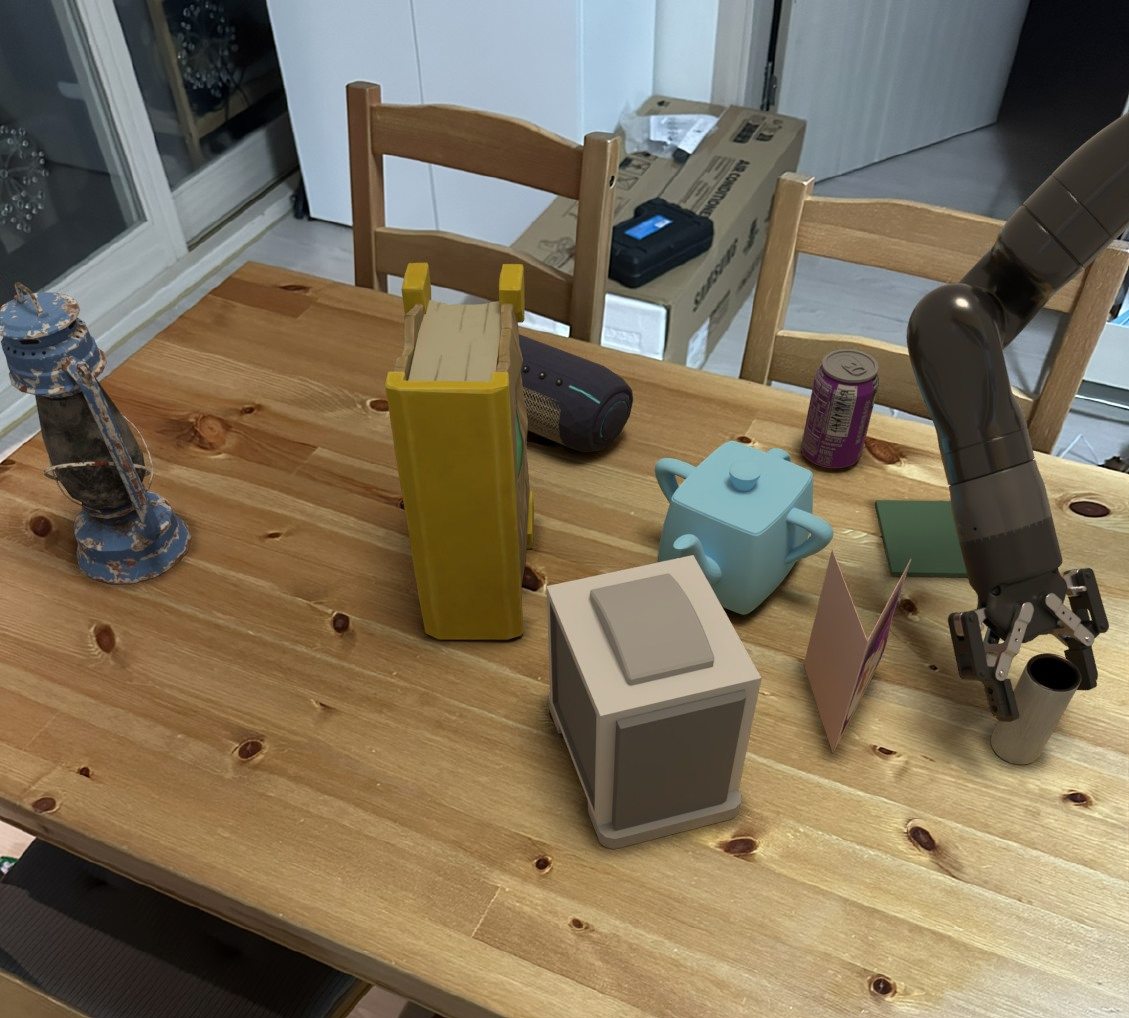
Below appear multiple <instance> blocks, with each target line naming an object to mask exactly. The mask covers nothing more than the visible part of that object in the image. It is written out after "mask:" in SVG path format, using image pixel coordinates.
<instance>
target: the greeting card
mask: <svg viewBox="0 0 1129 1018" xmlns="http://www.w3.org/2000/svg"><path fill="white" fill-rule="evenodd" d="M910 562H911V560H910V561H909V563H908V565H907V567H906V569H905V571H904V573H903V575H902V576H900V578H899V581H898V583H897V584H896V586H895V588H894V589H893V591H892V593H891V596H890V598H889V599H888V601H887V603H886V604H885V607H884V609H883V610H882V613H881V614H880V617H879V618H878V620H877V622H876V624H875V626H874V627H873V629H872V631H871V633H870V635H869V637H868V638H867V636H866V633H865V630H864V627H863V626H862V623H861V620H860V618H859V615H858V612H857V609H856V607H855V603H854V602H853V599H852V596H851V594H850V591H849V589H848V588H849V587H848V586H847V582H846V581H845V579H844V576H843V573H842V570H841V567H840V565H839V562H838V560H837V557H836V555H835V551H834V549H833V548H831V551H830V555H829V559H828V563H827V567H826V572H825V576H824V580H823V583H822V588H821V591H820V595H819V600H818V604H817V607H816V608H817V609H816V612H815V616H814V620H813V624H812V628H811V632H810V637H809V641H808V644H807V648H806V653H805V657H804V661H803V667H804V670H805V673H806V676H807V679H808V682H809V685H810V688H811V692H812V694H813V697H814V701H815V704H816V707H817V710H818V713H819V716H820V718H821V719H820V720H821V722H822V726H823V728H824V731H825V735H826V737H827V741H828V744H829V747H830V750H831V753H832V754H834V753H835V751H836V749H837V747H838V745H839V743H840V742H841V740H842V738H843V735H844V734H845V732H846V730H847V727H848V726H849V724H850V722H851V719H852V718H853V716H854V714H855V712H856V710H857V708H858V706H859V705H860V703H861V701H862V698H863V697H864V694H865V692H866V690H867V688H868V687H869V684H870V683H871V681H872V679H873V677H874V676H875V672H876V669H877V668H878V666H879V663H880V662H881V660H882V658H883V655H884V652H885V650H886V647H887V644H888V639H889V634H890V630H891V625H892V621H893V617H894V613H895V611H896V607H897V604H898V603H899V600H900V597H901V595H902V592H903V590H904V587H905V586H906V582H907V580H906V577H907V576H906V574H907V571H908V568H909V565H910Z"/></svg>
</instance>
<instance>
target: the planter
mask: <svg viewBox="0 0 1129 1018" xmlns="http://www.w3.org/2000/svg"><path fill="white" fill-rule="evenodd" d="M1080 682H1081V674H1080V671H1079V669H1078V668H1077V666H1076V665H1075V664H1074V663H1073V662H1071V661H1070V660H1068V659H1067V658H1065V656H1063V655H1060V654H1056V653H1052V652H1051V653H1050V652H1049V653H1048V652H1044V653H1039V654H1036V655H1034V656H1032V657H1030V658H1029V660H1028V661H1027V663H1026V665H1025V667H1024V669H1023V671H1022V673H1021V675H1020V677H1019V679H1018V681H1017V683H1016V685H1015V686H1014V688H1013V691H1014V696H1015V700H1016V704H1017V708H1018V712H1019V718H1018V719H1017V720H1014V721H1012V722H1003V721H998V722H997V724H996V725H995V728H994V730H993V732H992V735H991V737H990V745H991V748H992V750H993V751H994V752H995V754H996V755H997V756H998V757H999V758H1001V759H1002V760H1004V761H1006V762H1008V763H1010V764H1015V765H1029V764H1031V763H1034V762H1036V761H1037V760H1038V758H1039V757H1040V756H1041V754H1042V752H1043V751H1044V749H1045V747H1046V745H1047V744H1048V742H1049V741H1050V738H1051V737H1052V735H1053V733H1054V731H1055V729H1056V727H1057V726H1058V724H1059V722H1060V720H1061V718H1062V717H1063V715H1064V713H1065V711H1066V710H1067V708H1068V706H1069V705H1070V703H1071V701H1072V699H1073V697H1074V695H1075V693H1076V692H1077V691H1078V690H1077V688H1078V686H1079V684H1080Z"/></svg>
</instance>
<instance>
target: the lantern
mask: <svg viewBox="0 0 1129 1018" xmlns="http://www.w3.org/2000/svg"><path fill="white" fill-rule="evenodd" d="M14 288H15V291H16V294H14V297H13V299H11V300H9V301H7V302H6V303H4V304H2V306H0V337H2V338H1V340H0V344H1V345H0V346H1V349H2V352H3V354H4V356H5V361H6V365H7V368H8V370H9V372H8V377H9V381H10V384H11V386H12V387H14V388H15V389H16V390H18V391H19V392H21V393H24V394H29V395H33V396H34V397H35V398H34V399H35V403H36V410H37V414H38V415H37V416H38V420H39V426H40V432H41V438H42V441H43V444H44V447H45V450H46V452H47V455H48V461H49V467H47V468H45V469H44V470H43V475H44V477H45V478H48V479H49V480H53V481H55V483H56V486H57V487H58V488H59V490H60V492H61V494H63V496H64V497H66V498H67V499H68V500H69V501H70V502H72V503H74V504H76V505H77V506H80V507H81V509H82V510H80V512H79V513H78V514H77V516H76V518H75V521H74V523H73V526H72V530H73V532H74V536H75V539H76V542H77V549H76V554H75V555H76V559H77V563H78V566H79V570H80V571H82V572H83V573H84V574H85V575H86V576H88V577H89V578H90V579H91V580H94V581H97V582H101V583H104V584H105V583H106V584H108V585H125V584H127V585H128V584H129V585H130V584H137V583H140V582H143V581H146V580H150V579H154V578H157V577H159V576H160V575H162V574H163V573H165V572H167V571H168V570H170V569H172V568H174V567H175V566H176V565H177V564H178V563H179V562H180V561H181V560H182V558H183V557H185V555H186V554H187V553H188V552H189V548H190V544H191V540H192V538H193V537H192V534H191V531H190V528H189V525H188V523H187V522H185V521H184V520H183V519H182V518H180V517H179V516H178V515H176V514H175V513H174V510H173V507H172V505H171V503H170V501H169V500H168V499H167V498H165V496H162V494H160V493H159V492H156V491H151V490H150V489H151V486H152V482H153V479H154V465H153V459H152V457H151V453H150V450H149V447H148V445H147V443H146V441H145V439H144V437H143V435H142V433H141V432H140V431H139V430H138V428H137V427H136V426H135V424H134V423H133V421H131V420H130V419H129V418H127V417H126V416H125V415H124V414H123V413H122V412H121V411H120V409H119V408H118V407H117V406H116V404H115V403H114V401H113V400H112V399H111V397H110V395H109V394H108V393H107V391H106V390H105V388H104V387H103V386H102V385H101V383H100V382H99V380H98V379H97V378H98V377H99V376H100V375H101V374H102V373H103V372H104V370H105V368H106V365H107V363H108V362H107V361H108V360H107V358H106V355H105V353H104V351H103V350H102V349H101V348H99V347H98V345H97V342H96V340H95V338H94V336H92V335H91V333H90V331H89V328H88V326H87V323H86V322H85V321H84V320H82V319H81V318H79V317H78V316H79V315H80V312H81V308H80V305H79V302H78V301H77V300H76V299H74V298H73V297H71V296H70V295H68V294H64V293H59V292H55V291H53V292H52V291H51V292H49V291H48V292H33V291H32V290H31V289H30V288H28V287H27V286H25V285H24V284H22V283H21V282H15V283H14ZM23 292H24V293H26V294H24V293H23ZM129 424H131V426H132V427H133V428H134V430H135V431H136V433H138V436H140V438H141V440H142V443H143V445H144V447H145V448H146V452H147V455H148V459H149V462H150V468H149V467H147V466H146V464H145V458H144V453H143V451H142V449H141V446H140V445H139V443H138V441H137V439H136V437H135V435H134V434H133V432H132V430H131V427H130V426H129ZM50 472H51V473H52V474H49V473H50ZM150 474H151V475H150ZM147 476H150V479H149V482H148V485H147V487H146V485H145V483H144V480H145V477H147ZM60 484H61V485H60ZM62 487H63V488H64V489H65V491H66V492H67V493H65V491H64V490H63V488H62ZM67 494H68V495H67ZM73 499H74V500H73ZM75 500H76V501H75Z"/></svg>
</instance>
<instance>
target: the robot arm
mask: <svg viewBox="0 0 1129 1018" xmlns="http://www.w3.org/2000/svg"><path fill="white" fill-rule="evenodd" d="M1128 228H1129V111H1127V112H1126V113H1124V114H1122V115H1121V116H1120V117H1118V118H1116V119H1115V120H1114V121H1111V123H1109V124H1108V125H1106V126H1105V127H1104V128H1102V129H1101V130H1099V131H1098V132H1097V133H1096V134H1095V135H1093V136H1091V138H1089V139H1088V140H1086V141H1085V143H1083V144H1082V145H1081V146H1080V147H1079V148H1077V149H1076V150H1075V151H1074V152H1073V153H1072V154H1070V155H1069V156H1068V157H1067V159H1065V160H1064V161H1063V162H1062V163H1061V164H1060V165H1059V166H1058V167H1057V168H1056V169H1055V170H1054V171H1053V172H1052V173H1051V175H1049V176H1048V177H1047V179H1045V181H1044V182H1042V184H1041V185H1039V187H1038V188H1037V189H1036V190H1034V192H1033V193H1032V194H1031V195H1030V196H1029V197H1028V198H1027V199H1026V200H1025V201H1024V202H1023V203H1022V205H1020V206H1019V207H1018V208H1017V209H1016V210H1015V211H1014V212H1013V213H1012V215H1011V216H1010V217H1008V219H1007V220H1006V221H1005V223H1004V224H1003V226H1001V229H1000V230H999V232H998V234H997V237H996V239H995V242H994V243H993V245H992V246H991V247H990V249H988V251H987V252H985V254H984V255H983V256H982V257H981V258H979V260H978V261H977V262H976V263H975V264H974V265H973V266H972V267H971V268H970V269H969V270H968V271H967V273H965V274H964V276H962V278H960V280H958V282H955V283H954V282H953V283H948V284H947V283H946V284H942V285H940V286H938V287H936V288H933V289H932V290H931V291H929V292H928V293H926V294H925V295H924V296H923V297H922V298H921V299H920V300H919V301H918V303H916V305H915V307H914V308H913V310H912V312H911V314H910V316H909V319H908V322H907V327H906V346H907V353H908V356H909V360H910V364H911V368H912V371H913V374H914V377H915V381H916V383H917V386H918V388H919V392H920V394H921V396H922V399H923V401H924V404H925V407H926V409H927V412H928V414H929V416H930V419H931V420H932V424H933V426H934V429H935V433H936V437H937V443H938V449H939V454H940V458H941V462H942V467H943V470H944V474H945V478H946V483H947V485H948V492H949V496H950V498H949V499H950V500H949V501H951V509H952V515H953V519H954V523H955V527H956V531H957V535H958V539H959V543H960V547H961V551H962V555H963V559H964V563H965V567H966V571H967V575H968V577H967V579H968V583H969V585H970V587H971V588H972V590H973V591H974V592H975V593H976V596H977V605H976V608H974V609H970V610H967V611H955V612H951V613H950V614H949V615H948V617H947V624H948V628H949V632H950V633H949V634H950V638H951V639H950V640H951V644H952V649H953V654H954V658H955V663H956V669H957V674H958V677H959V679H960V680H962V681H978V682H980V683H981V684H982V685H983V688H984V693H985V696H986V701H987V705H988V709H989V712H990V714H991V715H992V717H995V718H996V720H997V721H998V722H999V721H1003V722H1012V721H1014V720H1017V719H1018V718H1019V712H1018V708H1017V704H1016V700H1015V696H1014V687H1013V684H1012V680H1011V678H1008V676H1009V672H1010V669H1011V666H1012V662H1013V659H1014V657H1016V656H1017V655H1018V654H1019V653H1020V651H1021V646H1022V644H1027V643H1030V642H1032V641H1033V640H1035V639H1036V638H1038V637H1039V636H1047V635H1052V636H1053V637H1055V638H1056V640H1058V641H1059V642H1061V644H1063V646H1065V647H1067V649H1065V650H1063V653H1064V657H1065V658H1067V659H1068V660H1070V661H1071V662H1073V663H1074V664H1075V665H1076V666H1077V668H1078V669H1079V671H1080V674H1081V682H1080V684H1079V686H1078V688H1077V690H1076V691H1090V690H1092V689H1093V690H1094V689H1095V688H1097V687H1098V682H1097V681H1098V679H1099V671H1098V668H1097V663H1096V659H1095V655H1094V650H1093V645H1094V643H1095V639H1096V638H1097V637H1098V636H1099V635H1101V634H1106V633H1107V632H1108V631H1109V628H1110V623H1109V620H1108V617H1107V613H1106V610H1105V606H1104V602H1103V599H1102V595H1101V593H1100V590H1099V585H1098V582H1097V578H1096V575H1095V572H1094V570H1093V568H1092V567H1084V568H1082V567H1080V568H1074V569H1067V570H1065V571H1064V572H1063V573H1062V574H1061V572H1060V570H1059V568H1060V567H1061V566H1062V564H1063V556H1062V551H1061V547H1060V544H1059V543H1060V542H1059V539H1058V535H1057V530H1056V527H1055V522H1054V518H1053V514H1052V509H1051V505H1050V501H1049V500H1050V499H1049V497H1048V496H1049V495H1048V493H1047V488H1046V485H1045V482H1044V479H1043V477H1042V475H1041V472H1040V469H1039V466H1038V463H1037V461H1036V459H1035V452H1034V449H1033V445H1032V439H1031V436H1030V432H1029V428H1028V423H1027V420H1026V416H1025V413H1024V410H1023V408H1022V406H1021V404H1020V401H1019V400H1018V399H1017V398H1016V395H1015V394H1014V392H1013V390H1012V386H1011V382H1010V377H1009V372H1008V367H1007V364H1006V363H1007V362H1006V359H1005V355H1004V354H1005V353H1004V350H1006V348H1008V346H1010V344H1011V343H1012V342H1013V341H1014V340H1015V339H1016V338H1017V337H1018V336H1019V335H1020V334H1021V333H1022V331H1024V330H1025V328H1026V327H1027V326H1028V325H1029V324H1031V322H1032V321H1033V319H1035V317H1036V316H1037V315H1038V314H1039V313H1040V312H1041V310H1042V309H1043V308H1044V307H1045V306H1046V305H1047V303H1048V302H1049V301H1050V300H1051V299H1052V297H1054V296H1055V295H1056V294H1057V293H1059V291H1060V290H1062V289H1063V288H1064V287H1065V286H1066V285H1068V284H1069V283H1070V282H1071V281H1073V280H1074V279H1075V278H1077V276H1079V275H1080V274H1081V273H1082V272H1083V270H1084V269H1086V268H1087V267H1088V266H1090V265H1091V264H1092V263H1093V261H1095V260H1096V259H1097V258H1098V257H1099V256H1100V255H1101V254H1102V253H1103V252H1104V251H1105V250H1106V249H1107V248H1108V247H1109V246H1111V245H1112V244H1113V242H1114V241H1116V240H1117V239H1118V238H1119V237H1120V235H1122V234H1123V233H1124V232H1125V231H1126V230H1127V229H1128ZM1066 597H1067V598H1068V602H1069V606H1070V608H1069V607H1068V606H1067V605H1066V604H1064V602H1065V599H1066ZM985 626H986V627H987V628H986V631H985V634H984V638H983V635H982V631H984V630H985ZM1000 640H1001V641H1003V642H1002V643H1000Z"/></svg>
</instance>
